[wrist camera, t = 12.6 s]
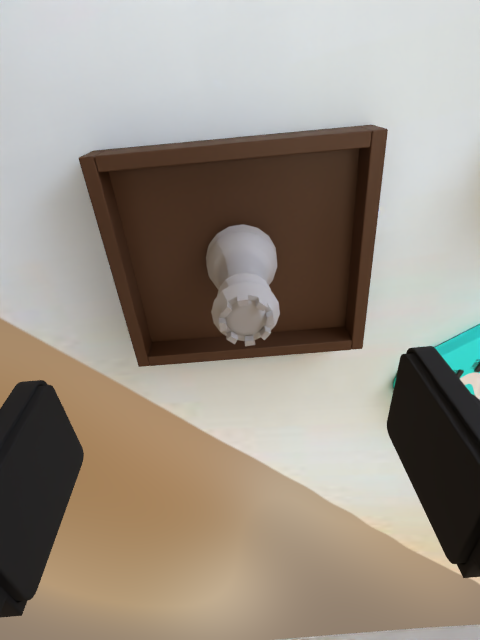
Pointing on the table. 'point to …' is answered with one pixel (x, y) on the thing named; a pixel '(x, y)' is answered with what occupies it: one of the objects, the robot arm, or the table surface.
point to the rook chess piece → (243, 283)
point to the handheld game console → (464, 358)
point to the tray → (237, 209)
